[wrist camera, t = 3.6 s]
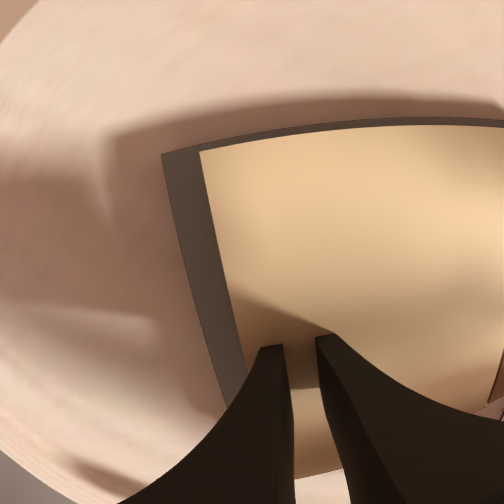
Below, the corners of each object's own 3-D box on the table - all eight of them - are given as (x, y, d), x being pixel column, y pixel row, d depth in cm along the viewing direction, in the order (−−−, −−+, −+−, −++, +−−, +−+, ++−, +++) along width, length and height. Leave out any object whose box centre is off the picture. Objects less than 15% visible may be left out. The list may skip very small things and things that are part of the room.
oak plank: (471, 391, 12) (485, 406, 10) (274, 458, 12) (277, 482, 10) (488, 130, 8) (513, 129, 7) (205, 156, 8) (199, 151, 7)
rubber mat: (519, 357, 12) (528, 365, 11) (244, 439, 14) (243, 452, 13) (535, 126, 9) (547, 126, 8) (169, 155, 10) (160, 154, 9)
